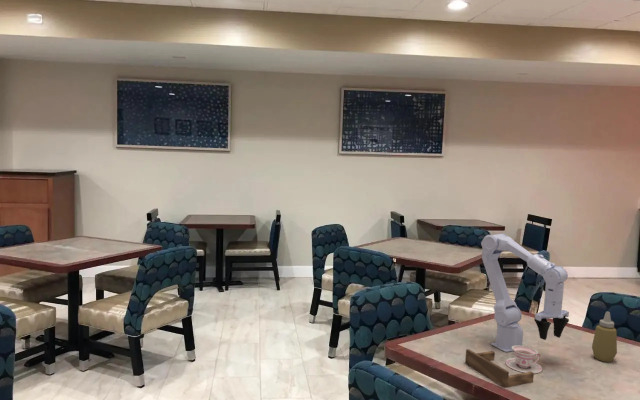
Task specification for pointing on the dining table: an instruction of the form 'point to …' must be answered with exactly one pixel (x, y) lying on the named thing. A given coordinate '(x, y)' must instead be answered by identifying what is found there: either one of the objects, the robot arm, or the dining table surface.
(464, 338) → the dining table surface
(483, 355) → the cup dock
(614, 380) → the dining table surface
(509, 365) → the teacup
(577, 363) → the dining table surface
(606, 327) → the squeeze bottle
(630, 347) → the dining table surface
